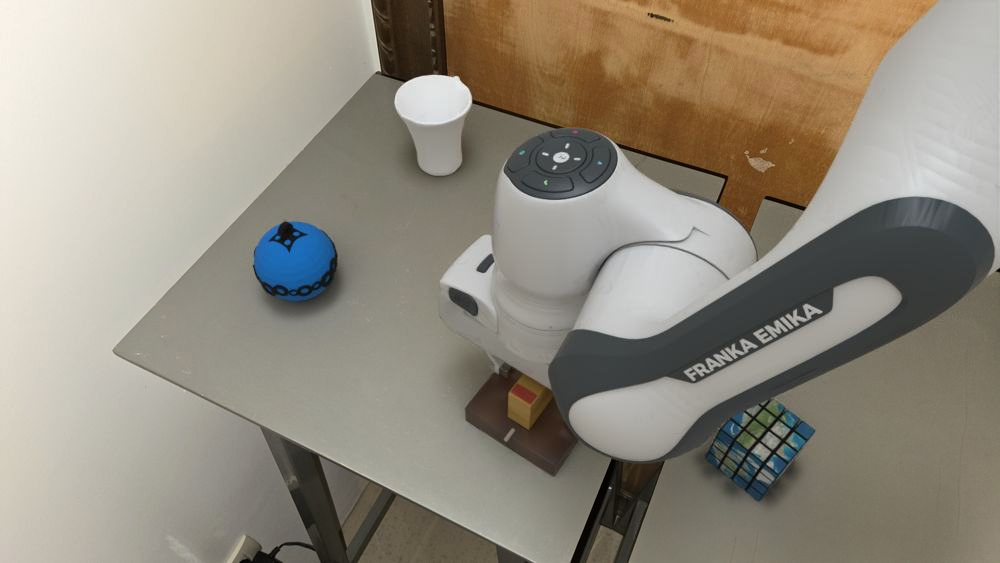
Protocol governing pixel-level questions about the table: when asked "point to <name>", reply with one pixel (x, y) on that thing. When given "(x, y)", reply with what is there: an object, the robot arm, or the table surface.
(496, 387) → the stamp base
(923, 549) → the table surface
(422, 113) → the cup
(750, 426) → the puzzle
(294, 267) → the ornament
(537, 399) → the stamp
